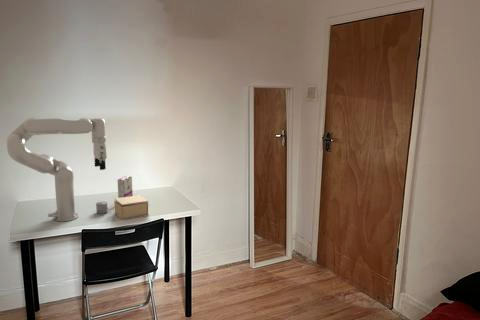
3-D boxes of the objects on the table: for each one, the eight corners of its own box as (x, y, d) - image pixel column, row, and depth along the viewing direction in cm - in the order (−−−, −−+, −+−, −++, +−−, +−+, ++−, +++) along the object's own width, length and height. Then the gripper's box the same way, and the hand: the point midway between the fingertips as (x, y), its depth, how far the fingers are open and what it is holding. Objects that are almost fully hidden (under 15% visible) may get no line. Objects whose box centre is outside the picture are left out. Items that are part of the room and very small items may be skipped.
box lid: (122, 205, 215) (122, 204, 215) (114, 199, 225) (114, 198, 225) (148, 202, 225) (148, 200, 225) (139, 196, 235) (139, 195, 235)
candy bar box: (126, 198, 257) (125, 175, 253) (132, 199, 256) (132, 176, 252) (117, 203, 246) (117, 179, 242) (124, 203, 245) (124, 180, 241)
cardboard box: (122, 219, 217) (122, 207, 216) (114, 213, 227) (114, 201, 226) (148, 214, 227) (148, 202, 225) (139, 208, 237) (139, 197, 235)
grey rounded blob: (98, 215, 223) (98, 205, 222) (95, 212, 228) (94, 202, 227) (109, 213, 227) (108, 203, 226) (105, 210, 232) (105, 201, 231)
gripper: (110, 141, 214) (111, 170, 218) (100, 137, 228) (101, 164, 231) (96, 142, 210) (98, 171, 213) (87, 138, 223) (89, 165, 227)
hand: (100, 167), depth 222 cm, fingers open, 9 cm apart
